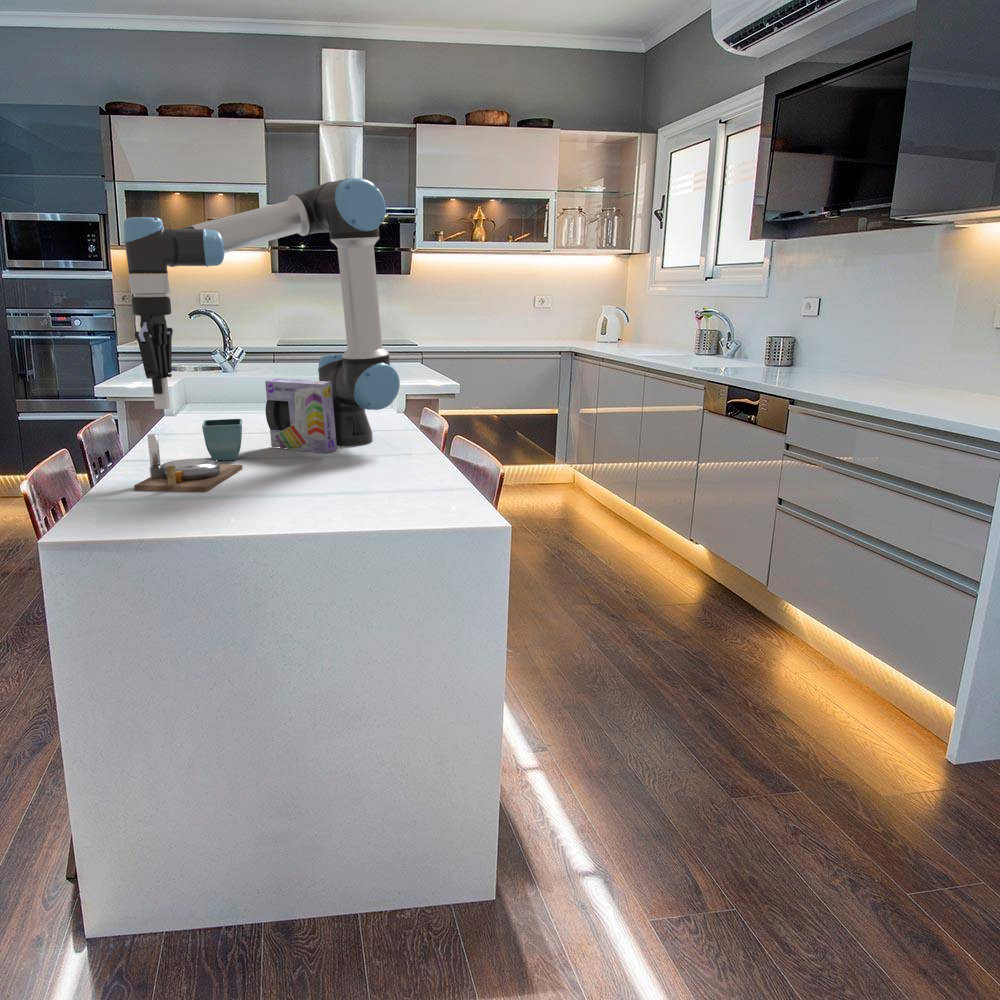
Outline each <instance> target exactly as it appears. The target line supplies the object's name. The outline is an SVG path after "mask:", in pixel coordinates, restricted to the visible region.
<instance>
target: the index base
mask: <svg viewBox="0 0 1000 1000" xmlns="http://www.w3.org/2000/svg"><path fill="white" fill-rule="evenodd" d="M166 468H167V479H166V478H163V477H161V478H151V477H150V476H149V477H148V478H145V479H144V480H142V481H140V482H138V483H136V484H134V485H133V486H134V491H157V492H158V491H159V492H161V491H162V492H203V493H207V492H209V491H210V490H212V489H213V488H215V487H216V486H219V485H220V484H222V483H223V482H225V481H226V480H228V479H229V478H230V477H233V476H235V475H236V474H237V473H239V472H240V471H242V470H243V464H225V463H224V464H223V463H222V464H221V463H220V473H219V474H218V475H216V476H213V477H209V478H203V479H195V480H183V481H182V482H176V475H175V465H168V466H166ZM241 469H242V470H241ZM238 471H239V472H238Z"/></svg>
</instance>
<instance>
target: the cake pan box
mask: <svg viewBox="0 0 1000 1000" xmlns="http://www.w3.org/2000/svg"><path fill="white" fill-rule="evenodd" d="M264 382H265V383H264V384H265V393H266V404H265V419H266V423H267V425H268V428H269V434H270V444H271V445H270V446H272V447H280V448H287V449H286V450H289V449H293V450H292V451H298V450H300V451H299V452H308V453H312V452H313V453H321V454H322V453H323V454H328V453H333V452H337V451H338V446H337V442H336V431H335V419H334V406H333V395H332V383H331V382H325V381H319V380H311V379H302V378H301V379H299V378H298V379H297V378H296V379H295V378H279V377H278V378H277V377H276V378H272V379H269V380H265V381H264ZM272 447H271V448H272ZM280 448H279V449H280Z"/></svg>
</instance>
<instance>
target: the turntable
mask: <svg viewBox="0 0 1000 1000" xmlns="http://www.w3.org/2000/svg"><path fill="white" fill-rule="evenodd" d="M147 445H148V453H149V454H148V457H149V464H150V465H149V466H150V467H149V474H150V475H149V478H150V477H151V478H161V477H163V478H166V479H167V468H166V466H168V465H175V475H176V482H182V481H183V480H195V479H203V478H209V477H213V476H216V475H218V474H219V473H220V464H221V463H220V461H216V460H213V459H212V458H211V459H208V458H187V459H186V458H185V459H178V460H177V459H176V460H173V461H172V460H171V461H169V462H168V461H167V462H164V463H162V464H161V458H160V457H161V456H160V445H159V435H158V434H157V433H156V434H155V433H153V434H147Z"/></svg>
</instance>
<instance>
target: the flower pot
mask: <svg viewBox="0 0 1000 1000" xmlns="http://www.w3.org/2000/svg"><path fill="white" fill-rule="evenodd" d="M201 429H202V433H203V437H204V444H205V447H206V449H207V452H208V454H209V455H210V457H211V459H212V460H222V461H235V460H237V458H238V457H239V454H240V452H241V447H242V437H243V436H242V435H243V418H226V419H225V418H223V419H222V418H221V419H220V418H219V419H205V420H203V422H202V425H201Z"/></svg>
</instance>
